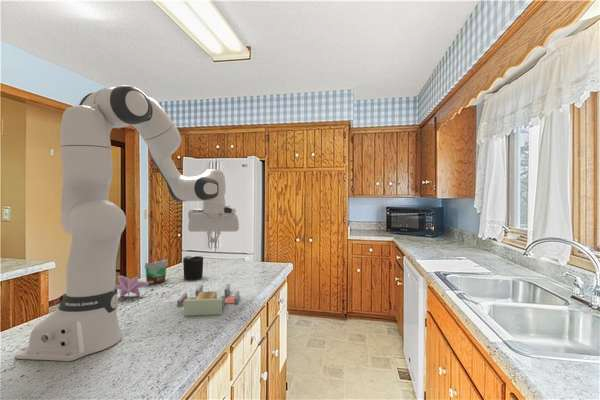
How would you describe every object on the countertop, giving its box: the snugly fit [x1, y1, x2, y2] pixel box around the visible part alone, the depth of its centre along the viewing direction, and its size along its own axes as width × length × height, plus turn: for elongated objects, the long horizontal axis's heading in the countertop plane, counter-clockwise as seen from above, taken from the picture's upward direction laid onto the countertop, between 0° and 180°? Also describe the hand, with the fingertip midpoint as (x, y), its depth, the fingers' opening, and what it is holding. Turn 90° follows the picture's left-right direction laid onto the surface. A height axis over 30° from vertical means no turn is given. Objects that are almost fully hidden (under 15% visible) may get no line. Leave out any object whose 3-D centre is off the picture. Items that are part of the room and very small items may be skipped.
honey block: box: [195, 291, 218, 299], centre depth 107 cm, size 6×8×5 cm
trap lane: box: [176, 283, 240, 316], centre depth 114 cm, size 22×26×5 cm
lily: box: [116, 274, 150, 302], centre depth 117 cm, size 12×12×10 cm
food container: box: [144, 257, 169, 285], centre depth 140 cm, size 12×6×10 cm, turn 168°
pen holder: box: [182, 255, 204, 281], centre depth 148 cm, size 9×9×10 cm
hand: (213, 242), depth 124 cm, fingers closed
